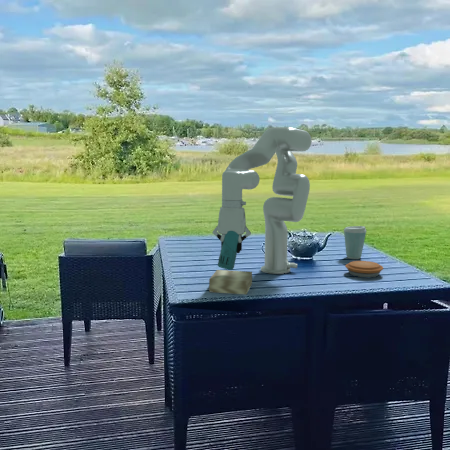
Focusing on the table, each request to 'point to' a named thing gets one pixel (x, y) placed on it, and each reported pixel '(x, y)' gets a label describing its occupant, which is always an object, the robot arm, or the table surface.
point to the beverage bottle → (228, 250)
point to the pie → (364, 268)
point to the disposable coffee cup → (354, 241)
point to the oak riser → (230, 282)
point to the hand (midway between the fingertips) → (231, 251)
